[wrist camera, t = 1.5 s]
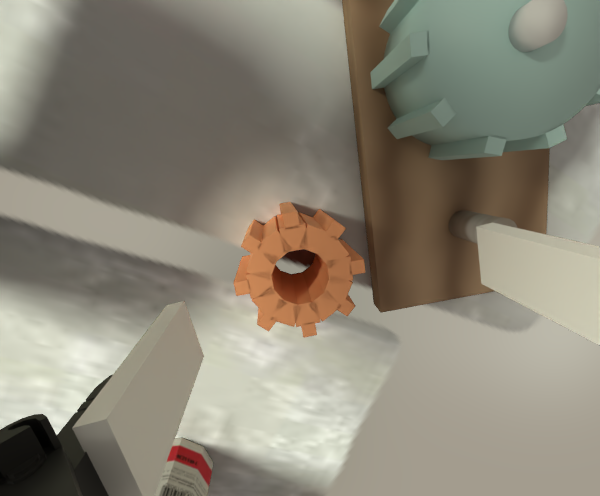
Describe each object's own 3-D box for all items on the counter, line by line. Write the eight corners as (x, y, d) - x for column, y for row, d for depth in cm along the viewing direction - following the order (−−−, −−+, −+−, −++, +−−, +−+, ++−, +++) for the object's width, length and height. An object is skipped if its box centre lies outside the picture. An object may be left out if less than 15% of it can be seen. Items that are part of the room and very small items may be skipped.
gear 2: (379, 170, 26) (427, 169, 18) (361, -22, 23) (411, -127, 15) (538, 144, 27) (651, 132, 19) (543, -46, 23) (684, -157, 15)
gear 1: (252, 308, 30) (247, 347, 23) (232, 211, 28) (220, 224, 21) (348, 290, 30) (371, 324, 24) (336, 194, 28) (357, 201, 21)
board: (373, 303, 31) (403, 340, 24) (340, -16, 24) (367, -88, 18) (527, 275, 32) (597, 302, 25) (535, -41, 25) (633, -119, 18)
